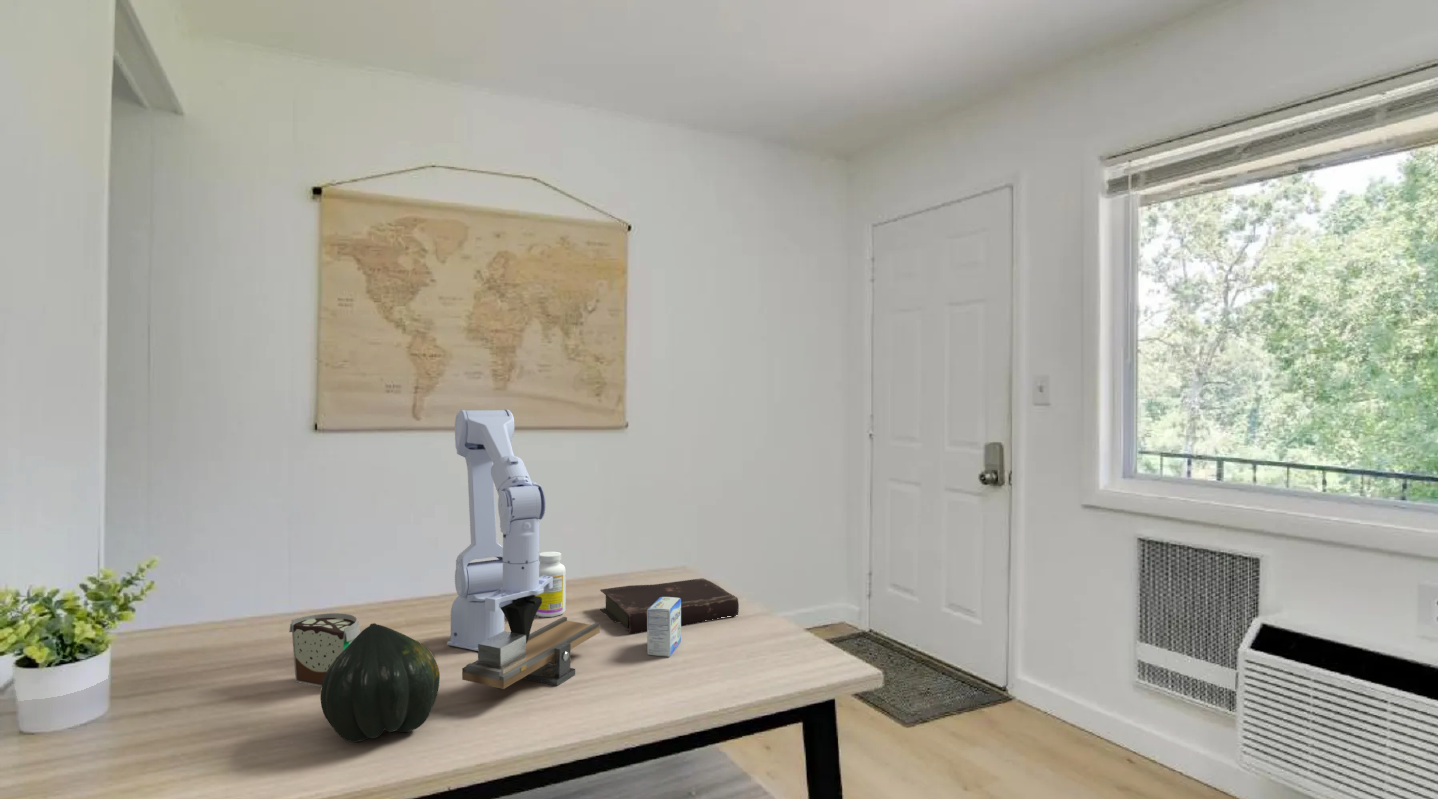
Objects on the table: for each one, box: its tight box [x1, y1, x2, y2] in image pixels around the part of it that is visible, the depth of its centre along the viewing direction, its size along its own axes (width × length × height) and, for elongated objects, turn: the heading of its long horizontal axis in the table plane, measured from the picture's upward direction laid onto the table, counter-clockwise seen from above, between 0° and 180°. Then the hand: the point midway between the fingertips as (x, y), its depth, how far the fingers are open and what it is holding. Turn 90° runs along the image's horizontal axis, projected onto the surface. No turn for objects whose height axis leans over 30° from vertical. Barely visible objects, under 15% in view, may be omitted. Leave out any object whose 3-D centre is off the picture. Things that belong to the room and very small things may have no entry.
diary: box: [599, 578, 740, 635], centre depth 152 cm, size 19×25×5 cm
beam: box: [461, 616, 601, 690], centre depth 118 cm, size 8×26×2 cm, turn 157°
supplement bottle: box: [535, 550, 567, 618], centre depth 150 cm, size 7×7×13 cm
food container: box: [288, 612, 362, 688], centre depth 115 cm, size 12×6×10 cm, turn 71°
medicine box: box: [646, 597, 682, 658], centre depth 130 cm, size 8×4×9 cm, turn 168°
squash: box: [319, 622, 440, 743], centre depth 99 cm, size 14×15×15 cm
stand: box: [521, 643, 576, 687], centre depth 118 cm, size 12×5×6 cm, turn 67°
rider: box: [477, 630, 526, 673], centre depth 111 cm, size 4×6×4 cm
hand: (520, 642), depth 114 cm, fingers closed
